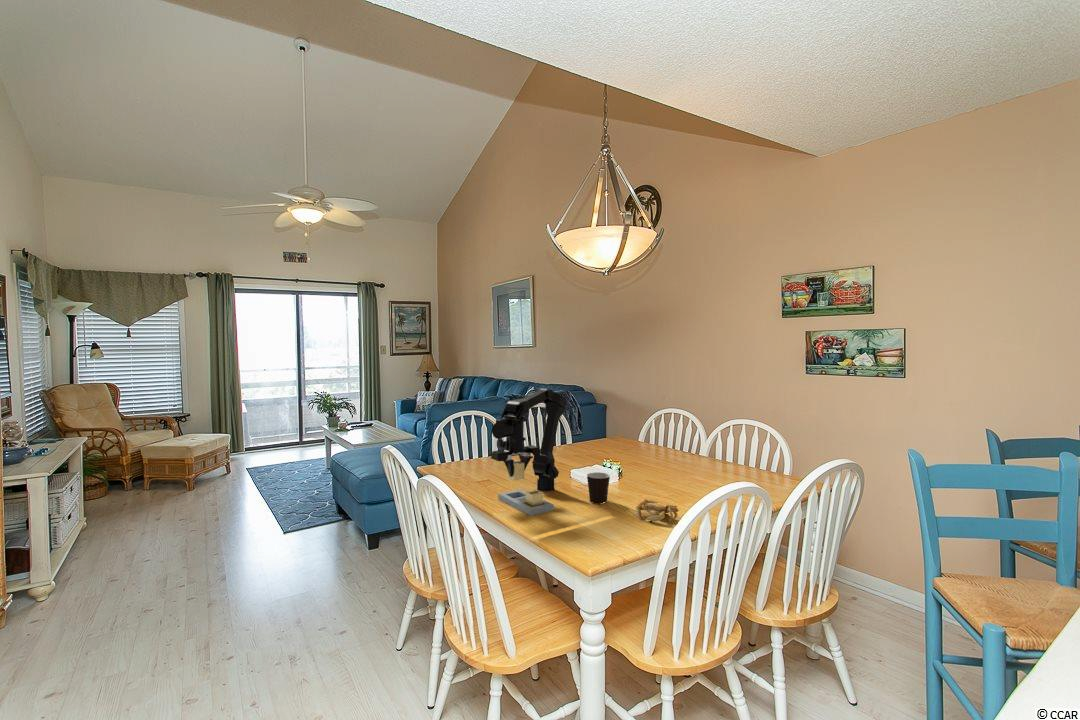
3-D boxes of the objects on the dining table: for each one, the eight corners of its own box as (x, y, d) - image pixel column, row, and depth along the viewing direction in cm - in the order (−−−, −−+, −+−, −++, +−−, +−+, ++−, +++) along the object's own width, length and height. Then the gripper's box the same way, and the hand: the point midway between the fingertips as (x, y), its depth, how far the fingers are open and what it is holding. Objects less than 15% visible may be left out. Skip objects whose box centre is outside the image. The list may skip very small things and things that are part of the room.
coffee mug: (593, 496, 198) (593, 471, 197) (613, 500, 193) (613, 474, 192) (578, 504, 188) (578, 477, 188) (598, 508, 183) (599, 481, 183)
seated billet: (535, 506, 183) (535, 489, 183) (542, 509, 180) (542, 492, 179) (525, 508, 181) (525, 491, 181) (532, 511, 177) (532, 494, 177)
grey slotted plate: (498, 501, 191) (498, 493, 191) (520, 497, 197) (520, 489, 197) (530, 518, 173) (530, 510, 173) (553, 512, 179) (553, 504, 179)
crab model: (625, 516, 176) (625, 501, 176) (648, 508, 184) (648, 493, 184) (662, 529, 164) (662, 512, 164) (685, 519, 172) (685, 503, 172)
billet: (518, 476, 193) (518, 460, 193) (524, 478, 189) (524, 462, 189) (508, 478, 190) (508, 461, 190) (514, 480, 187) (514, 464, 187)
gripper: (525, 428, 201) (525, 467, 202) (483, 434, 190) (484, 474, 191) (541, 433, 192) (541, 473, 193) (498, 438, 181) (498, 481, 182)
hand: (516, 475), depth 190 cm, fingers closed on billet, 4 cm apart
